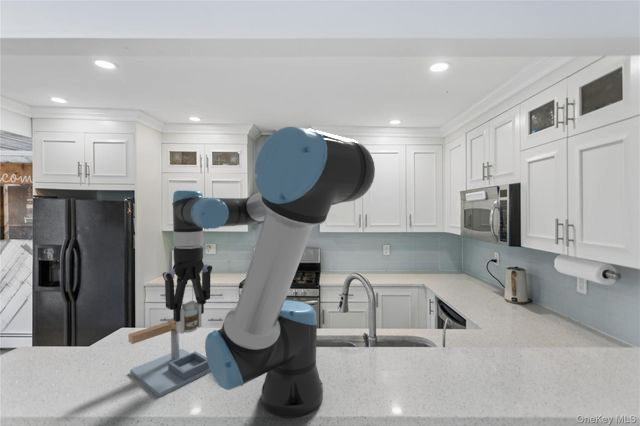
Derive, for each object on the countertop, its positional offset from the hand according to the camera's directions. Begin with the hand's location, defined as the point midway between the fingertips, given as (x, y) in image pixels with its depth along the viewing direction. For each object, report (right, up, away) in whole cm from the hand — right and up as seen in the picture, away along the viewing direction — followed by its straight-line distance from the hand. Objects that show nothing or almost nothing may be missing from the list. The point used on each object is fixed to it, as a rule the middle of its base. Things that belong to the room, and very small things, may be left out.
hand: (189, 328), depth 85 cm
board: (-5, -12, 0) cm, 13 cm away
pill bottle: (0, 0, 0) cm, 0 cm away
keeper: (-9, -2, +1) cm, 10 cm away
